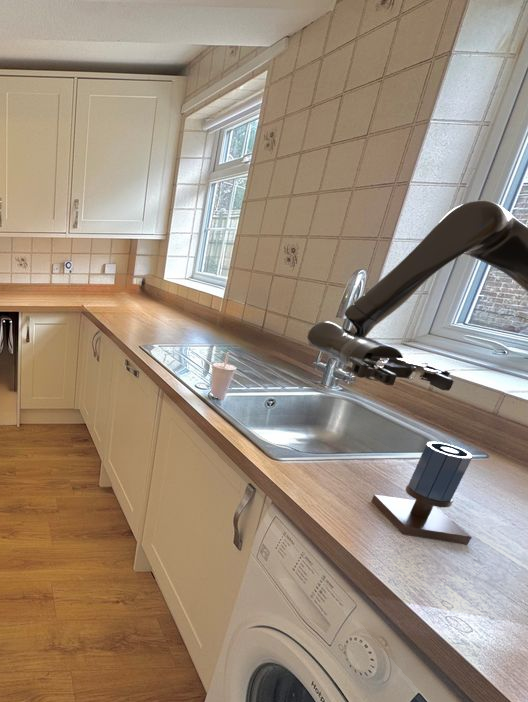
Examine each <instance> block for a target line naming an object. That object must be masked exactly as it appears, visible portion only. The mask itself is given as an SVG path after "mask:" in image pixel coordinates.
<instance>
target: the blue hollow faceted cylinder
mask: <svg viewBox="0 0 528 702" xmlns="http://www.w3.org/2000/svg"><path fill="white" fill-rule="evenodd" d="M440 447H449V448H452V449H455V450H457V451H458V452H459V455H458V456H455V455H450V454H447V453H444V452H441V451H439V449H440ZM472 459H473V454H472V453H470V452H469V451H467V450H465V449H464V448H461V447H458V446H455V445H453V444H450V443H445V442H441V441H427V442H426V444H425V446H424V448H423V451H422V453H421V455H420V458H419V460H418V462H417V464H416V466H415V468H414V470H413V473H412V475H411V477H410V480H409V482H408V483H409V484H408V483H407V485H408V487H409V488H411V489H412V490H413V491H414V492H415V493H418V494H420V495H422V496H424V497H426V498H430V499H433V500H437V501H451V499H452V498H453V497H454V495H455V493H456V492H457V489H458V487H459V486H460V483H461V481H462V479H463V477H464V475H465V473H466V471H467V469H468V468H469V465H470V463H471V461H472Z"/></svg>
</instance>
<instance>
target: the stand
mask: <svg viewBox="0 0 528 702" xmlns="http://www.w3.org/2000/svg"><path fill="white" fill-rule="evenodd" d="M439 451H441V452H444V453H447V454H450V455H455V456H458V455H459V452H458V451H457V450H455V449H452V448H449V447H440V449H439ZM408 484H409V482H408V483H407V484H406V487H405V493H407V495H409V496H410V498H413V499H408V498H402V497H394V496H389V495H381V494H373V495H372V498H371V502H372V504H373V505H374V506H375V507H376V508H377V509H378V510H379V511H380V512H381V513H382V514H383V516H385V517H386V519H388V521H389V522H390V523H392V525H393V526H394V527H395V528H396V529H397V531H399V532H400V533H401V534H402V535H404V536H405V535H407V536H412V537H419V538H425V539H431V540H432V539H433V540H438V541H443V542H451V543H457V544H462V545H469V543H470V541H471V539H472V536H471V535H470V534H469V533H468V532H467V531H465V530H464V529H463V528H462V527H461V526H460V525H458V524H457V523H456V522H455V521H454V520H453V519H451V518H450V517H449V516H448V515H447V514H446V513H444V512H443V511H442V510H441V509H440V508H444V509H445V508H446V509H447V508H449V507H451V506H452V505H453V502H454V498H453V497H452V499H451V501H437V500H433V499H430V498H426V497H424V496H422V495H420V494H418V493H415V492H414V491H413V490H412V489H411V488H409V487H408Z"/></svg>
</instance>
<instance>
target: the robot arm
mask: <svg viewBox="0 0 528 702" xmlns="http://www.w3.org/2000/svg"><path fill="white" fill-rule="evenodd" d="M463 255H466V256H469V257H470V258H473V259H475V260H477V261H480V262H482V263H484V264H486V265H488V266H491V267H493V268H495V269H497V270H498V271H500V272H502V273H504V274H505V275H507V276H508V277H509V278H511V279H512V280H513V281H514V282H515V283H516V284H517V285H518V286H519V287H521V289H523V290H524V291H525V292H526V293H528V226H527V225H526V224H524V223H523V222H521V221H520V220H518V219H517V218H516V217H515V216H514V215H512V214H511V212H509V211H508V210H507V209H505V208H504V207H503V206H501V205H500V204H497V203H496V202H493V201H490V200H484V199H483V200H472V201H469V202H465V203H463V204H460V205H458V206H456V207H454V208H453V209H451V210H450V211H449V212H447V213H446V214H445V215H444V216H443V217H442V218H441V219H440V221H439V222H437V224H436V225H434V227H433V228H432V229H431V230H430V231H429V232H428V233H427V234H426V236H425V237H424V238H423V239H422V240H421V241H420V242H419V244H417V245H416V247H415V248H413V250H412V251H411V252H410V253H409V254H407V256H405V258H403V259H402V260H401V261H400V262H399V263H398V264H397V265H396V266H394V267H393V269H391V270H390V271H389V272H388V273H387V274H386V275H384V277H382V278H381V279H380V280H379V281H377V282H376V283H375V284H374V285H373V286H371V287H370V288H369V289H368V290H367V291H366V292H364V293H363V294H361V295H360V296H359V297H358V298H357V299H356V300H354V301H353V302H352V303H351V304H349V306H347V308H345V310H344V317H345V318H346V319H347V321H349V323H351V324H352V325H351V327H350V328H349V329H347V328H344V327H343V326H341V325H340V324H337V323H335V322H333V321H330V320H324V321H319V322H317V323H315V324H313V325H312V326H311V327H310V328H309V329H308V331H307V334H306V341H307V342H308V344H309V346H311V347H313V348H314V349H316V350H318V351H320V352H322V353H323V354H325V355H326V356H328V357H330V358H332V359H335V360H336V361H338V362H339V363H340V364H343V365H345V369H346V370H347V371H349V372H350V373H352V374H353V375H354V376H356V377H359V378H361V379H363V378H365V379H367V380H369V381H374V382H380V383H382V384H384V385H386V386H390V387H391V386H394V384H395V382H396V380H402V381H405V382H410V383H412V384H413V383H414V384H416V383H424V384H428V385H431V386H433V387H435V388H437V389H439V390H441V391H450V390H451V389H452V387H453V384H454V382H455V380H454V379H453V378H451V377H449V376H450V374H451V371H449V370H446V369H444V368H441V367H438V366H435V365H433V364H430V363H428V362H421V363H417V362H412V361H410V360H408V359H406V358H404V356H403V354H402V352H401V351H400V350H399V349H398V348H396V347H394V346H391V345H389V344H387V343H384V342H383V341H379V340H377V339H374V338H370V337H367V336H368V335H369V334H370V332H371V331H372V330H373V329H374V328H375V327H376V326H377V325H378V324H380V323H381V322H382V321H384V320H385V319H386V318H387V317H389V316H391V315H392V314H393V313H394V312H396V310H398V309H399V308H401V306H403V305H404V304H405V303H406V302H407V301H408V300H409V299H410V298H411V297H412V296H413V295H414V294H415V293H416V292H417V291H418V290H419V289H420V287H421V286H422V285H424V284H425V283H426V282H427V281H428V280H429V279H430V278H431V277H432V276H434V275H435V274H436V273H437V272H439V271H440V270H441V269H442V268H444V267H445V266H447V265H448V264H450V263H452V262H453V261H454V260H456V259H458V258H459V257H461V256H463ZM413 373H415V374H414V377H412V375H413Z"/></svg>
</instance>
